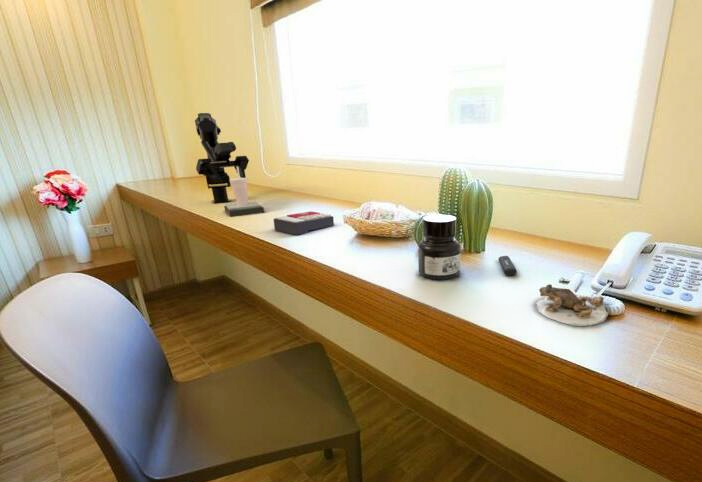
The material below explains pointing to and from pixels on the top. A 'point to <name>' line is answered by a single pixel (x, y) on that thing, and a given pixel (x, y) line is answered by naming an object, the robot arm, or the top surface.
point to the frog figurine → (571, 307)
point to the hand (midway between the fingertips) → (233, 181)
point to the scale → (243, 209)
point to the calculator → (302, 222)
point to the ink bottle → (439, 248)
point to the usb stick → (507, 265)
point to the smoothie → (240, 189)
